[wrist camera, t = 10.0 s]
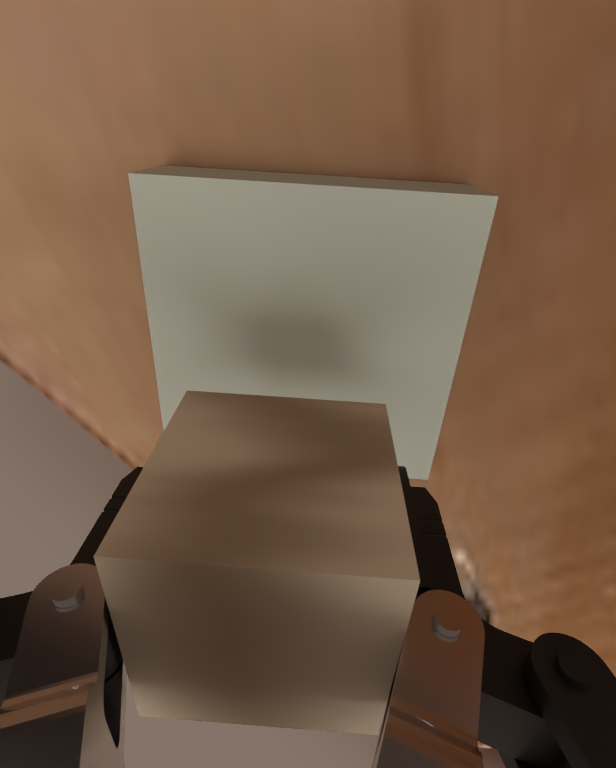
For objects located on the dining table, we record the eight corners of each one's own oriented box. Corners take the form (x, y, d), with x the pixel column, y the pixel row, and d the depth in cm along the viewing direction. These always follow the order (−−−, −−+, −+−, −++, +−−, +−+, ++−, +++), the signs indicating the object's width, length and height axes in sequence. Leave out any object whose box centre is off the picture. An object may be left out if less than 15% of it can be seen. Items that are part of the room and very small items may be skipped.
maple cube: (385, 404, 11) (420, 581, 7) (362, 541, 14) (377, 735, 9) (186, 390, 11) (93, 556, 7) (200, 529, 14) (139, 715, 9)
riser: (468, 184, 19) (498, 196, 15) (415, 431, 25) (428, 479, 22) (166, 165, 19) (128, 173, 16) (190, 415, 26) (167, 459, 22)
